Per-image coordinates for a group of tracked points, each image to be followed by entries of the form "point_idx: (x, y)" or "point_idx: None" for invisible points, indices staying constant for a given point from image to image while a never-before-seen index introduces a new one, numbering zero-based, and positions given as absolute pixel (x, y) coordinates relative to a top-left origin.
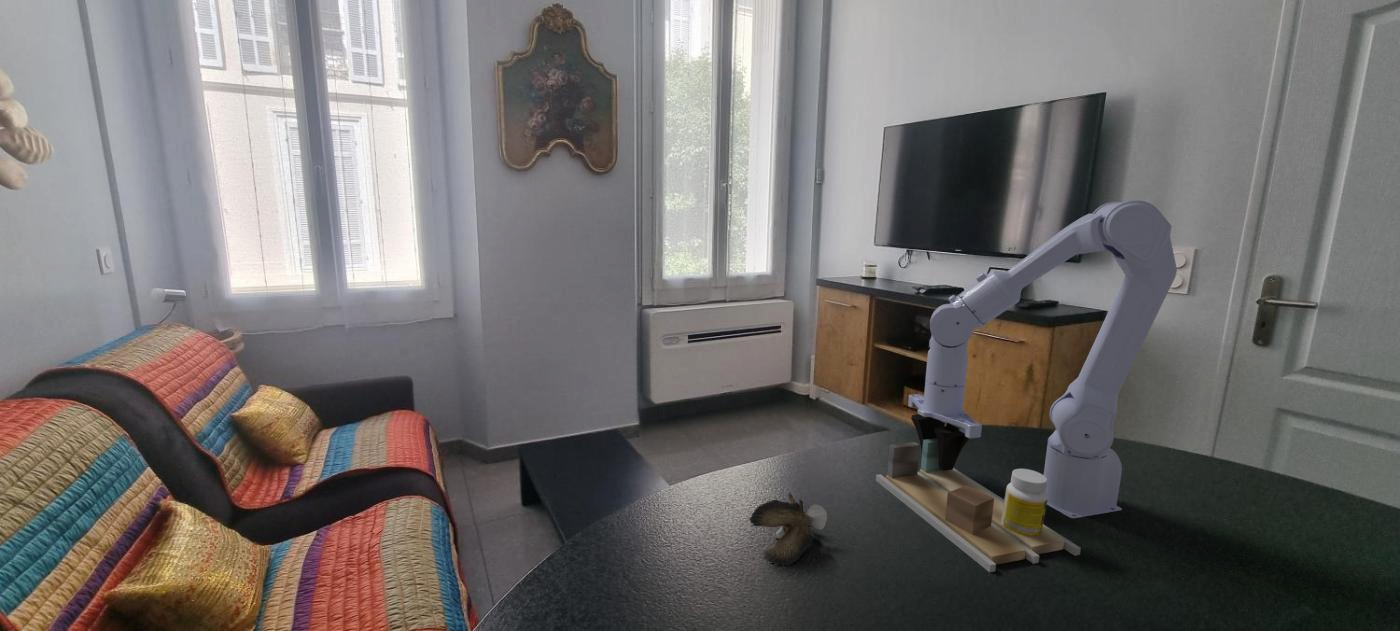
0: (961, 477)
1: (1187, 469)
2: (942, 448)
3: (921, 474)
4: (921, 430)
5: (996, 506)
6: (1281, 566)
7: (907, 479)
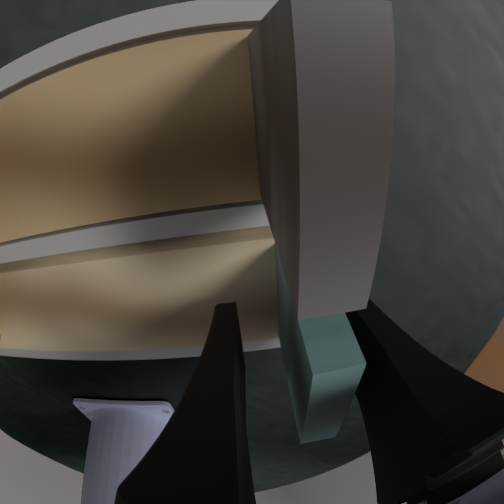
0: None
1: None
2: (190, 405)
3: None
4: (419, 400)
5: (30, 325)
6: (49, 446)
7: (217, 114)
